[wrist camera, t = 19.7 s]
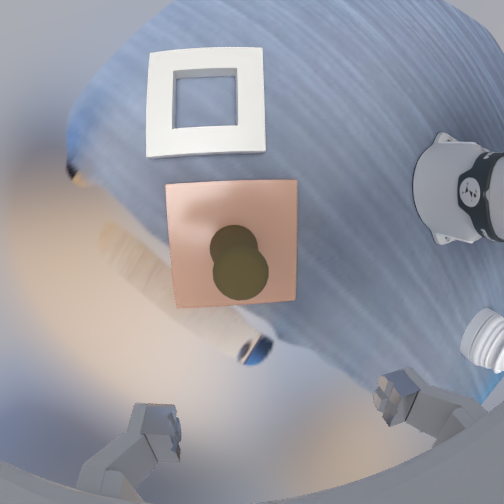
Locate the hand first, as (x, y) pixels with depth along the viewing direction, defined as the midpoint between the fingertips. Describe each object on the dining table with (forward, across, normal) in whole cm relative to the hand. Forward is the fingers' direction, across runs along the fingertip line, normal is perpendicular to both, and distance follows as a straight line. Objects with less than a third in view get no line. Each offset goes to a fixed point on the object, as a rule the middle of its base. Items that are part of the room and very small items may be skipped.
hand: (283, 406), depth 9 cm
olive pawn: (+27, 0, 0) cm, 27 cm away
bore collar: (+27, +3, -18) cm, 33 cm away
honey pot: (+27, -56, +24) cm, 67 cm away
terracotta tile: (+27, 0, 0) cm, 27 cm away
